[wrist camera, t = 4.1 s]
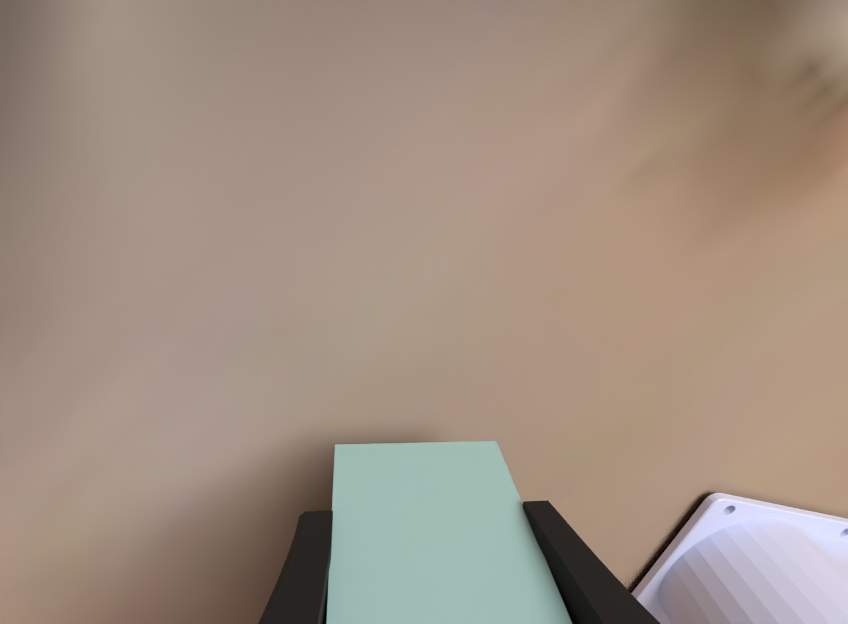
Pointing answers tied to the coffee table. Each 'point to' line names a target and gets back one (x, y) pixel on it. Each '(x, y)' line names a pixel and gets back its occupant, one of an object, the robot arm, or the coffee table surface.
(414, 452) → the domino
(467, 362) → the coffee table surface
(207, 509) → the coffee table surface
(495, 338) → the coffee table surface
